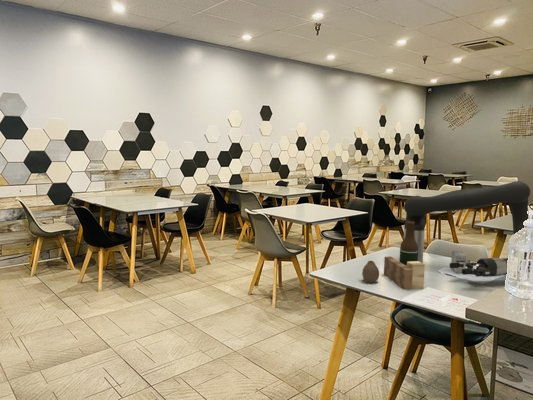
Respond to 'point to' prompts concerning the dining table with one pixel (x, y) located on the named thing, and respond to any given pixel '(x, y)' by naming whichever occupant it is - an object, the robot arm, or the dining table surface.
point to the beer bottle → (409, 245)
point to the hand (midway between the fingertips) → (456, 268)
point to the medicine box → (457, 257)
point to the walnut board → (398, 272)
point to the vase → (370, 272)
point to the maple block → (417, 274)
